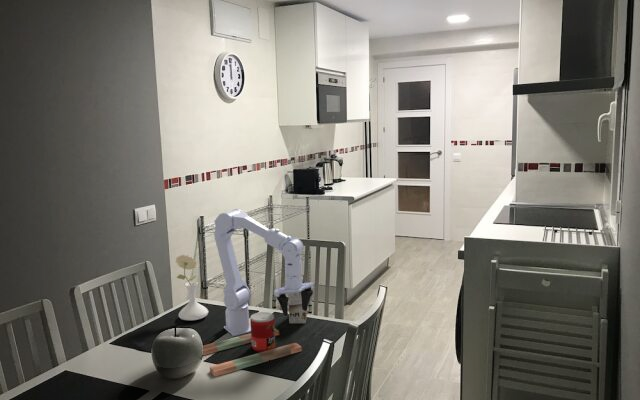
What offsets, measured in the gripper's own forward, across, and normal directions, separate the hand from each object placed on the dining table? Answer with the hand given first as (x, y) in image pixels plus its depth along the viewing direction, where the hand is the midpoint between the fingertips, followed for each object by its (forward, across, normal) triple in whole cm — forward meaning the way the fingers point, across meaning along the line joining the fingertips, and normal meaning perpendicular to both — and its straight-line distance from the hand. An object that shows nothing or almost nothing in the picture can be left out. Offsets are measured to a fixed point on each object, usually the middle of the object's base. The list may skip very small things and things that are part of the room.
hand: (295, 312), depth 180 cm
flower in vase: (+10, -24, +41) cm, 48 cm away
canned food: (+10, -12, 0) cm, 16 cm away
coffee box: (+10, +10, +15) cm, 20 cm away
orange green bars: (+9, -18, 0) cm, 21 cm away
